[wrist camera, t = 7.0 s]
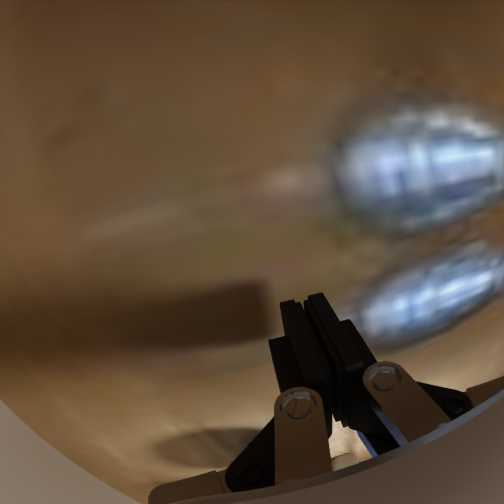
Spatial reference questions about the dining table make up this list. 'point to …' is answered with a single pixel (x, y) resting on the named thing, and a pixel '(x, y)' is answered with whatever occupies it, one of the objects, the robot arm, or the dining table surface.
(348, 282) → the dining table surface
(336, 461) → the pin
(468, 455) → the robot arm
